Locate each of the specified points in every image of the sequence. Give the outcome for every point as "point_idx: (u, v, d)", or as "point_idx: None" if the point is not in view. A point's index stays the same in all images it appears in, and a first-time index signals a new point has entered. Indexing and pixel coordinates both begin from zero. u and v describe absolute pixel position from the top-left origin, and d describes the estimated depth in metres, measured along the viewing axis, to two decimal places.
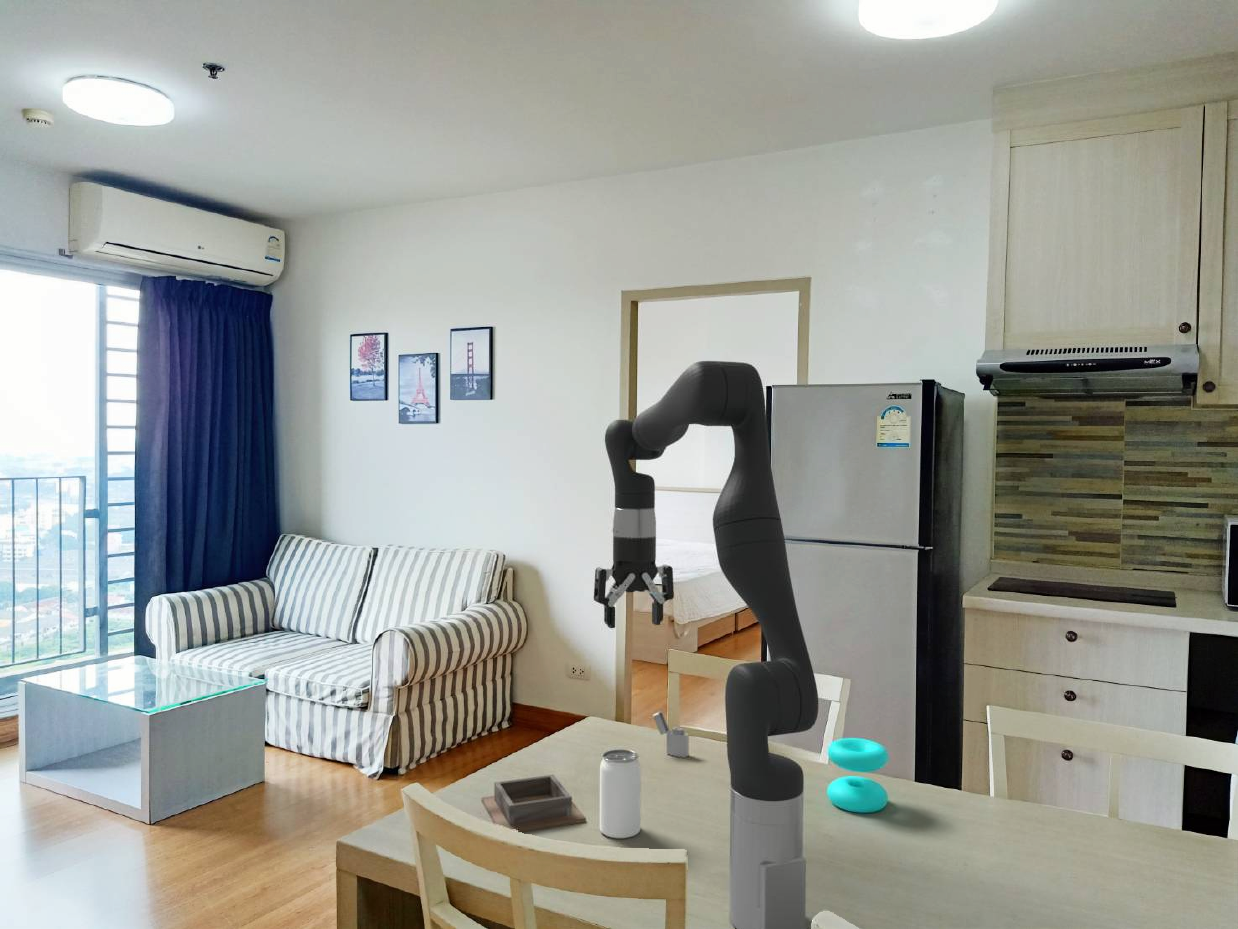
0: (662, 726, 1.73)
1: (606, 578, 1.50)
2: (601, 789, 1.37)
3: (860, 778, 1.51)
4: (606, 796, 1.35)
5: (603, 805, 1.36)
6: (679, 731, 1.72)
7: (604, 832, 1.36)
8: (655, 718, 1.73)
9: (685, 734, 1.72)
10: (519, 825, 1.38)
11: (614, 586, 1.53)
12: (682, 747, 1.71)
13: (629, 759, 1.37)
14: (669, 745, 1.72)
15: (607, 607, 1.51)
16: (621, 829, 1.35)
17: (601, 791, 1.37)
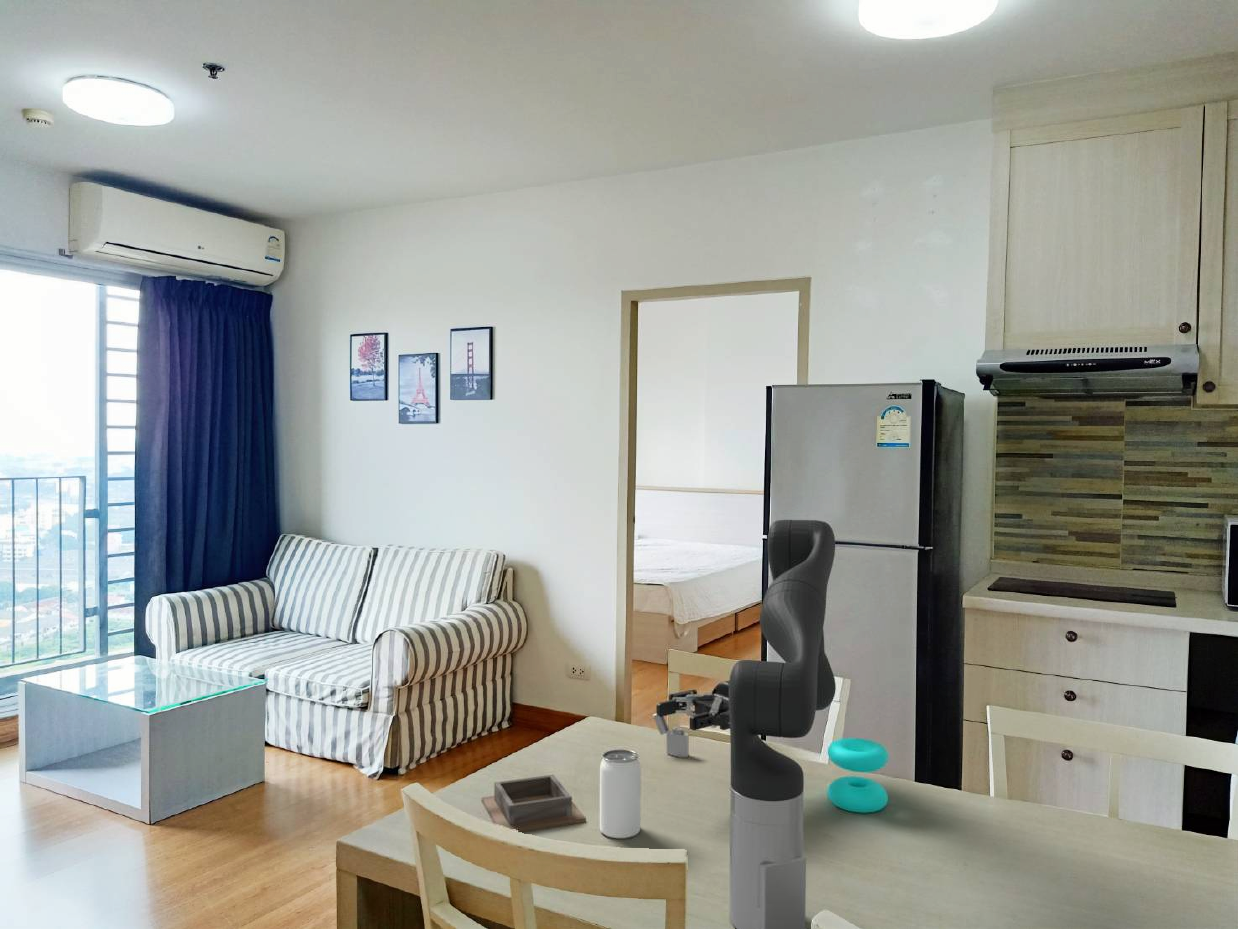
0: (662, 726, 1.73)
1: (691, 692, 1.54)
2: (601, 789, 1.37)
3: (860, 778, 1.51)
4: (606, 796, 1.35)
5: (603, 805, 1.36)
6: (679, 731, 1.72)
7: (604, 832, 1.36)
8: (655, 718, 1.73)
9: (685, 734, 1.72)
10: (519, 825, 1.38)
11: (692, 711, 1.51)
12: (682, 747, 1.71)
13: (629, 759, 1.37)
14: (669, 745, 1.72)
15: None
16: (621, 829, 1.35)
17: (601, 791, 1.37)
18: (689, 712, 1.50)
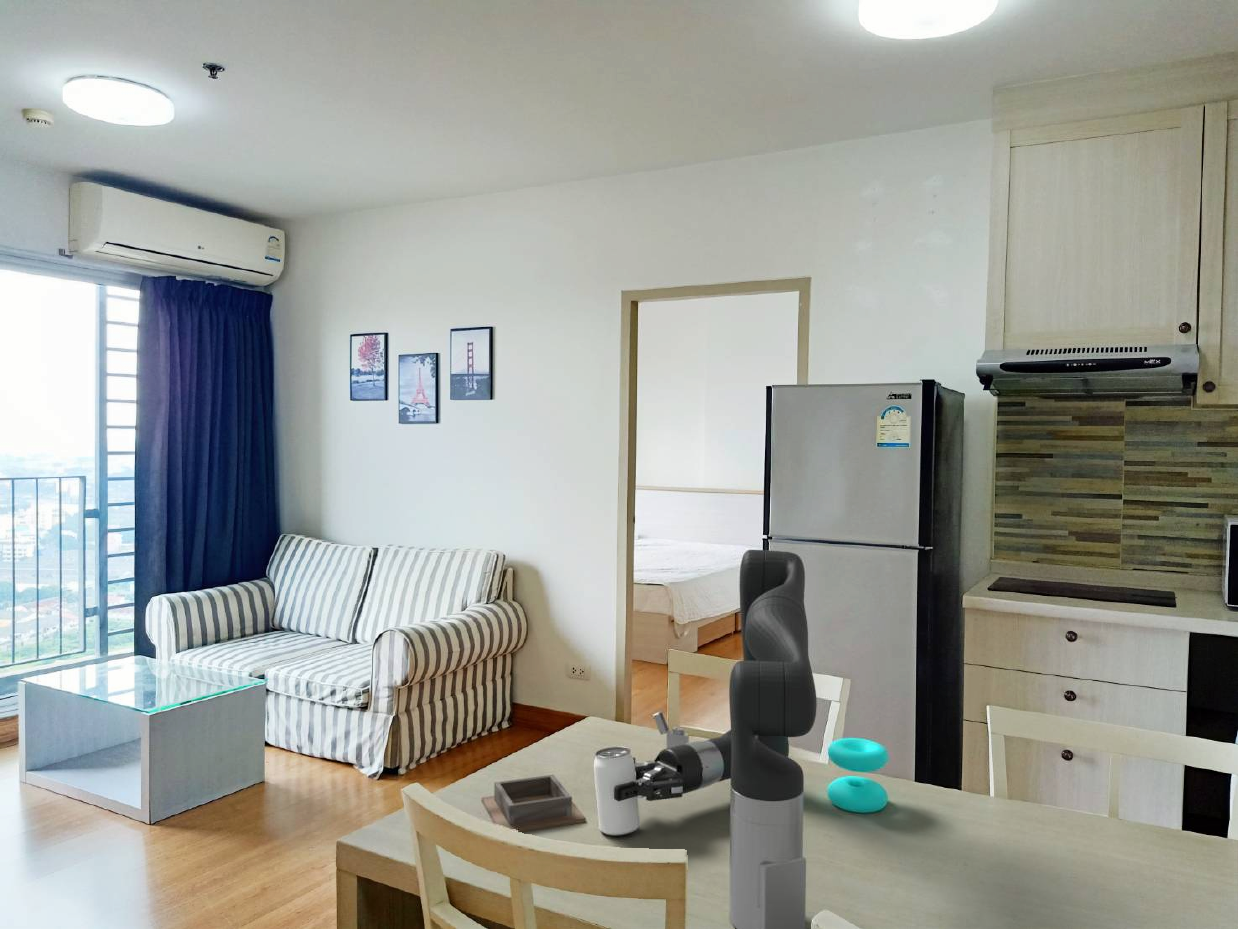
0: (662, 726, 1.73)
1: None
2: (596, 788, 1.37)
3: (860, 778, 1.51)
4: (602, 793, 1.36)
5: (600, 803, 1.36)
6: (679, 731, 1.72)
7: (604, 830, 1.36)
8: (655, 718, 1.73)
9: (685, 734, 1.72)
10: (519, 825, 1.38)
11: None
12: None
13: (621, 754, 1.38)
14: (669, 745, 1.72)
15: None
16: (620, 825, 1.35)
17: (597, 789, 1.37)
18: None
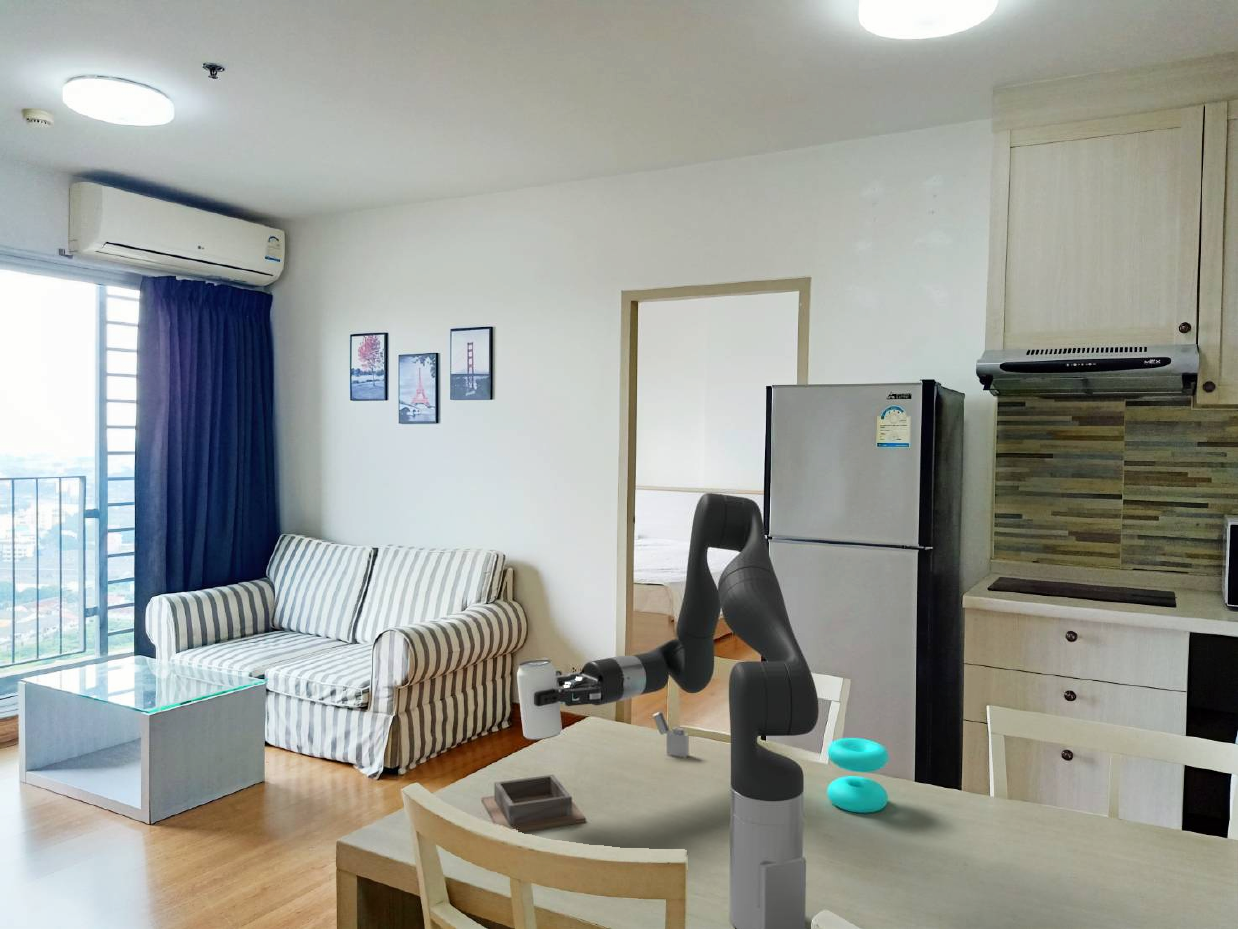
0: (662, 726, 1.73)
1: (557, 673, 1.52)
2: (519, 696, 1.44)
3: (860, 778, 1.51)
4: (524, 700, 1.43)
5: (522, 710, 1.43)
6: (679, 731, 1.72)
7: (526, 735, 1.43)
8: (655, 718, 1.73)
9: (685, 734, 1.72)
10: (519, 825, 1.38)
11: None
12: (682, 747, 1.71)
13: None
14: (669, 745, 1.72)
15: None
16: (541, 729, 1.42)
17: (519, 697, 1.44)
18: None
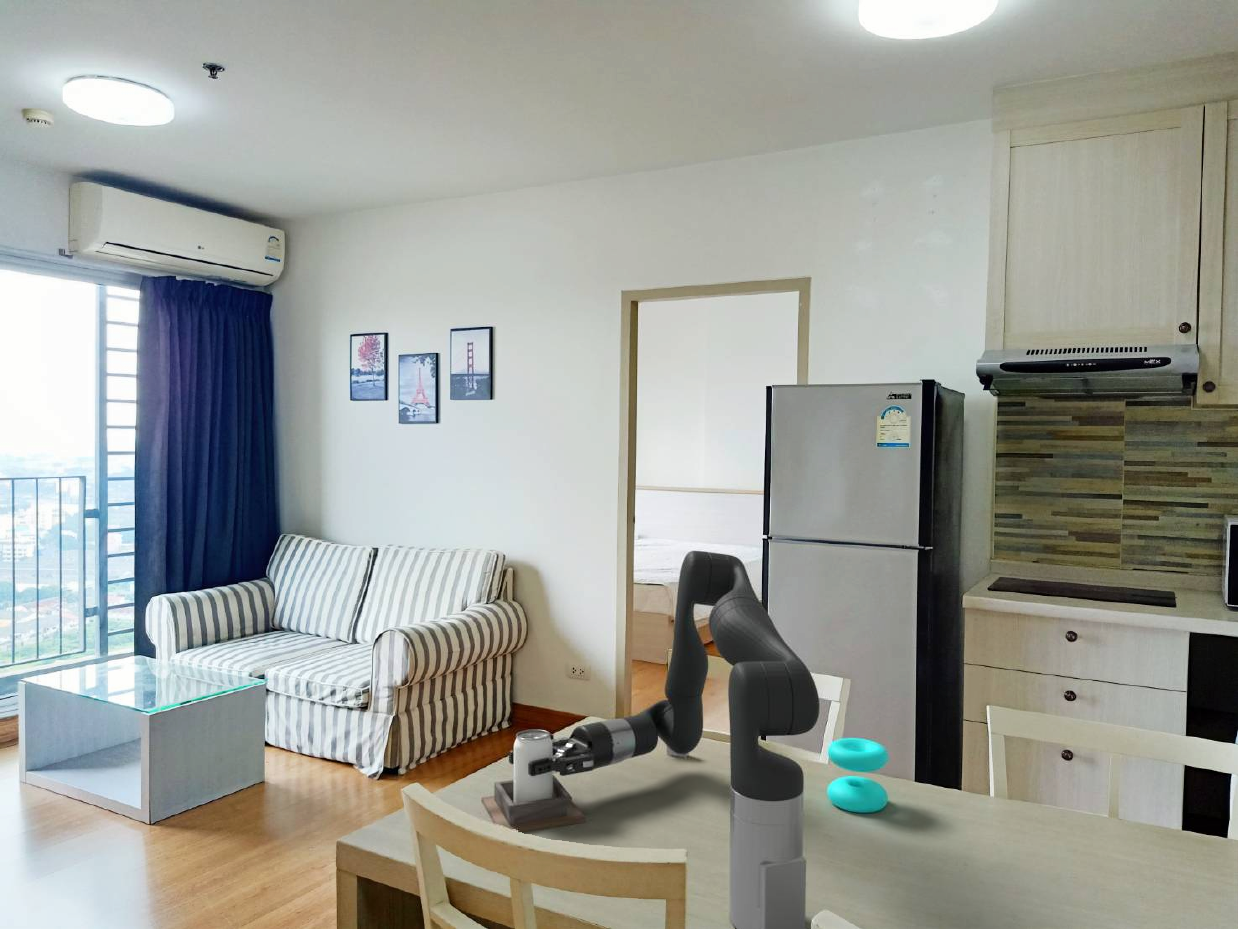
0: None
1: None
2: (514, 767, 1.44)
3: (860, 778, 1.51)
4: (519, 772, 1.43)
5: (516, 781, 1.44)
6: None
7: None
8: None
9: None
10: (519, 825, 1.38)
11: None
12: None
13: (541, 737, 1.45)
14: None
15: None
16: None
17: (514, 768, 1.44)
18: None
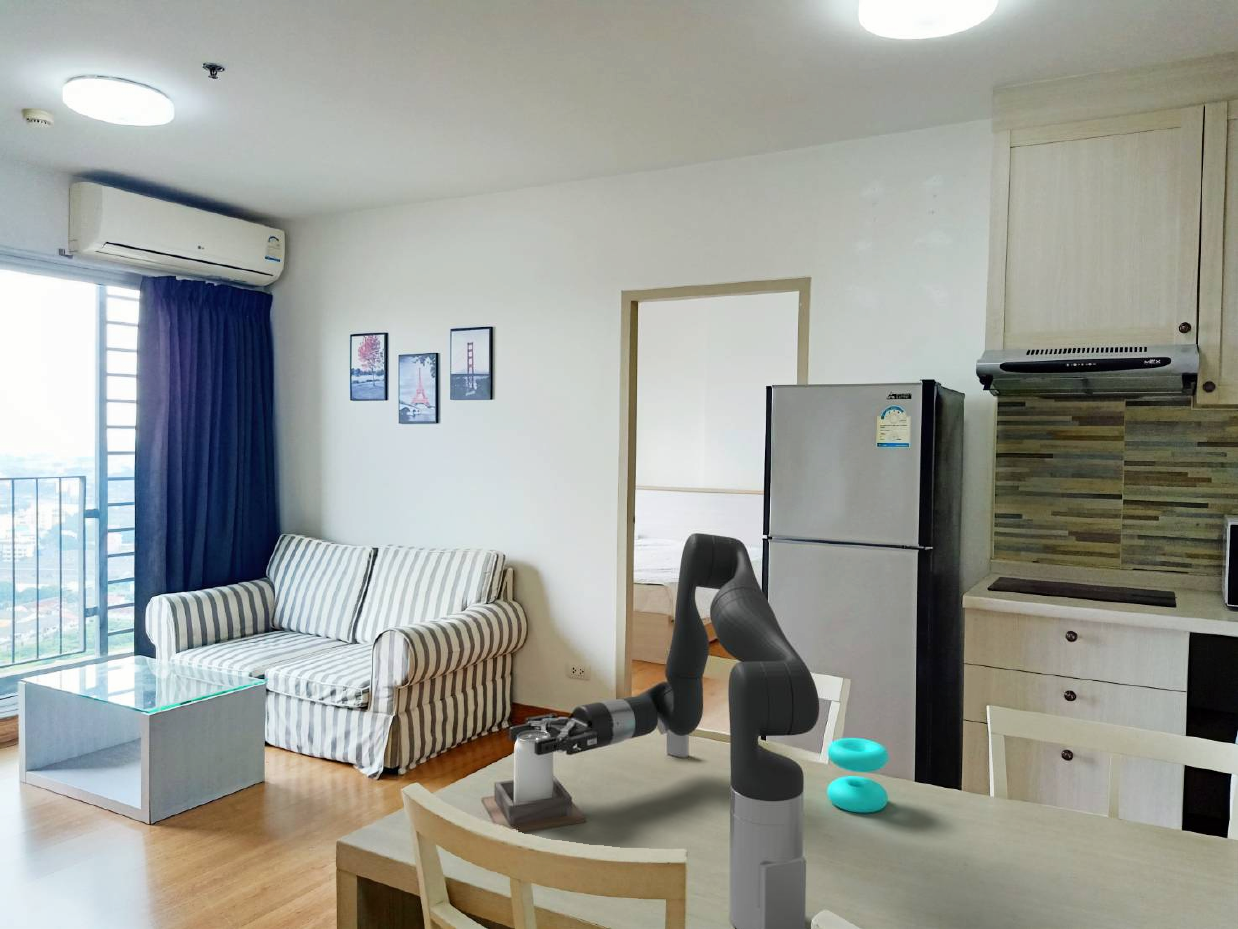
0: (662, 726, 1.73)
1: (550, 716, 1.54)
2: (514, 768, 1.44)
3: (860, 778, 1.51)
4: (519, 774, 1.43)
5: (516, 782, 1.43)
6: None
7: None
8: None
9: None
10: (519, 825, 1.38)
11: None
12: (682, 747, 1.71)
13: (541, 739, 1.44)
14: (669, 745, 1.72)
15: None
16: None
17: (515, 769, 1.44)
18: None
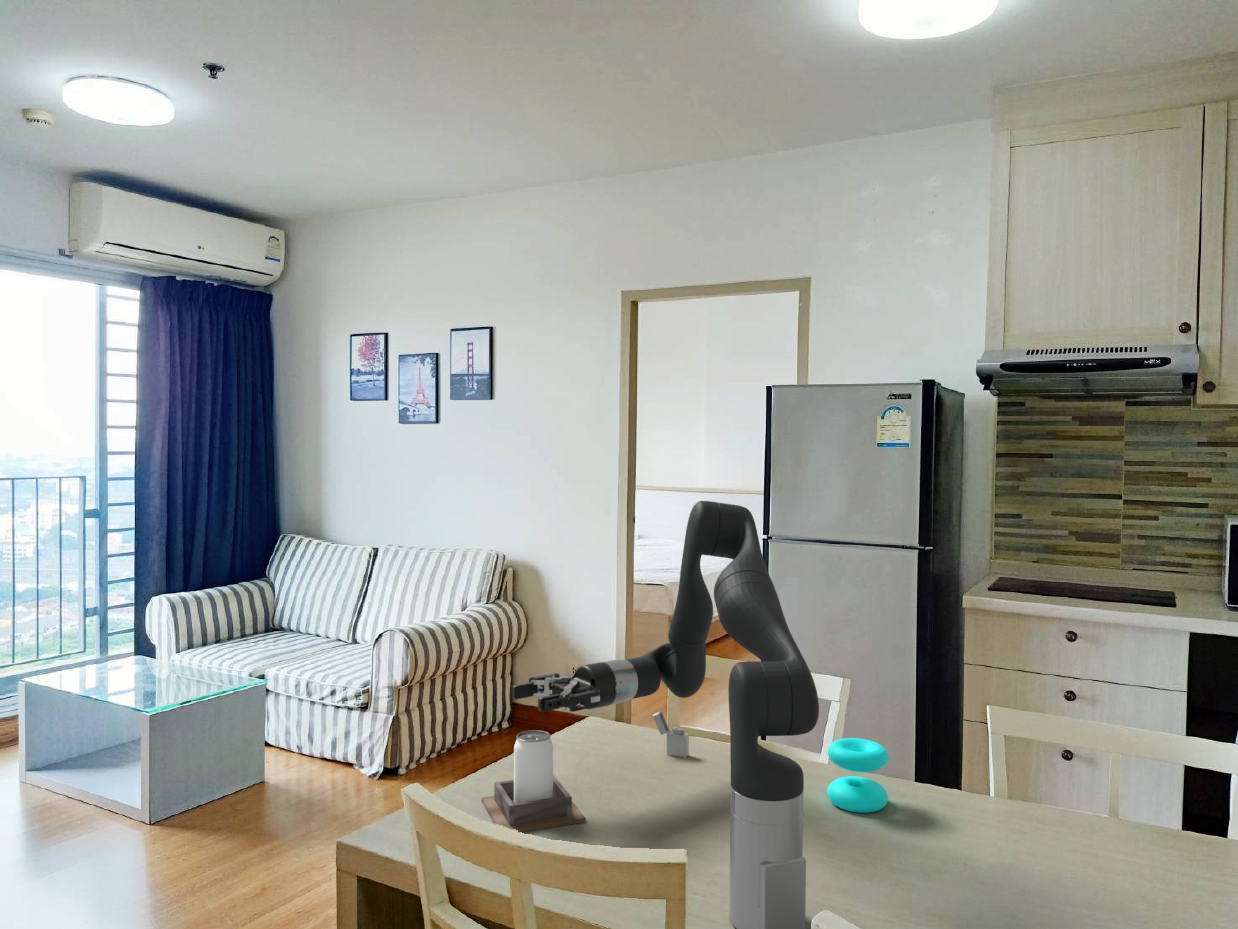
0: (662, 726, 1.73)
1: (553, 676, 1.54)
2: (514, 768, 1.44)
3: (860, 778, 1.51)
4: (519, 774, 1.43)
5: (516, 782, 1.43)
6: (679, 731, 1.72)
7: None
8: (655, 718, 1.73)
9: (685, 734, 1.72)
10: (519, 825, 1.38)
11: (551, 694, 1.51)
12: (682, 747, 1.71)
13: (541, 739, 1.44)
14: (669, 745, 1.72)
15: None
16: None
17: (515, 769, 1.44)
18: (547, 695, 1.50)
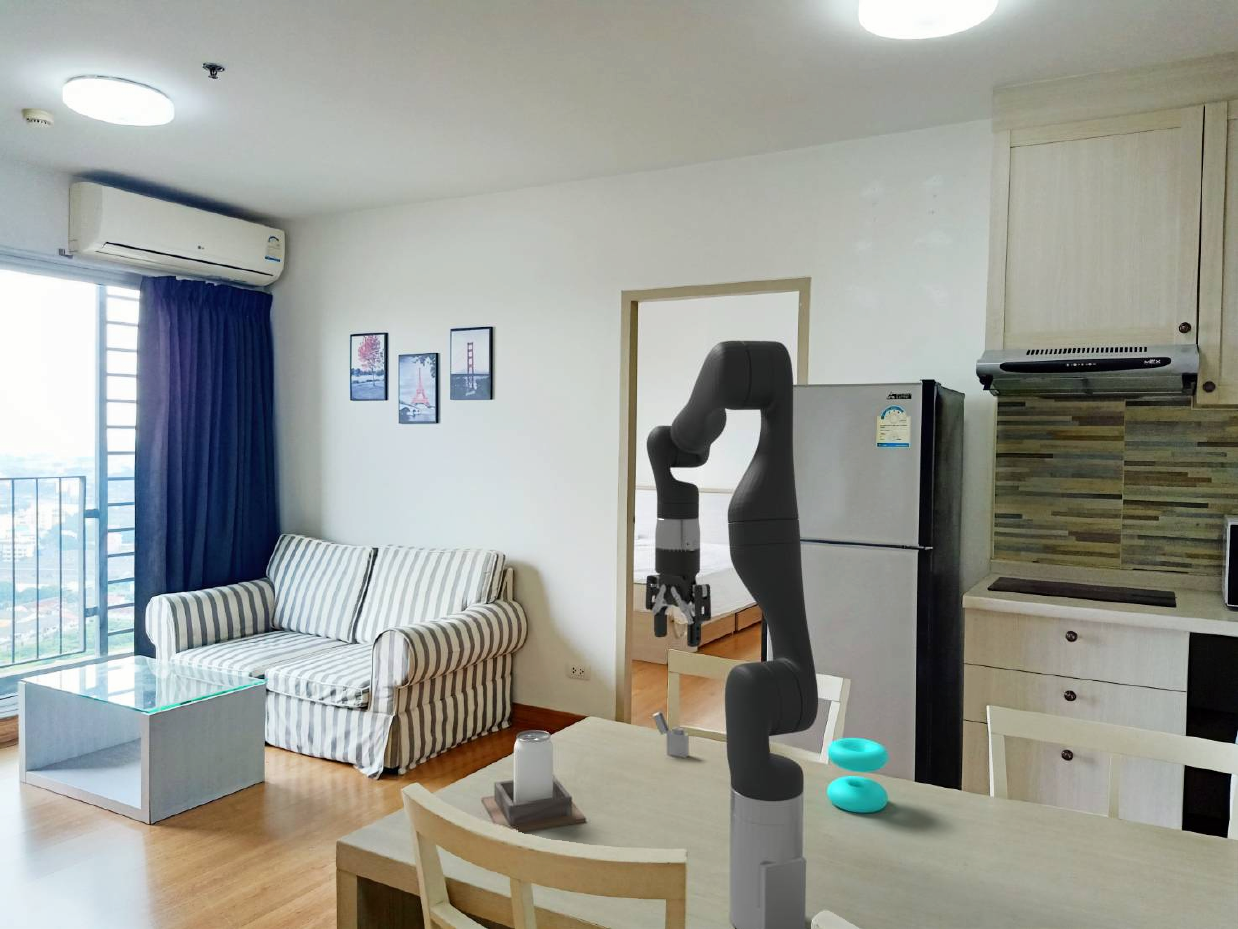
0: (662, 726, 1.73)
1: (650, 585, 1.50)
2: (514, 768, 1.44)
3: (860, 778, 1.51)
4: (519, 774, 1.43)
5: (516, 782, 1.43)
6: (679, 731, 1.72)
7: None
8: (655, 718, 1.73)
9: (685, 734, 1.72)
10: (519, 825, 1.38)
11: None
12: (682, 747, 1.71)
13: (541, 739, 1.44)
14: (669, 745, 1.72)
15: (654, 615, 1.50)
16: None
17: (514, 769, 1.44)
18: None
